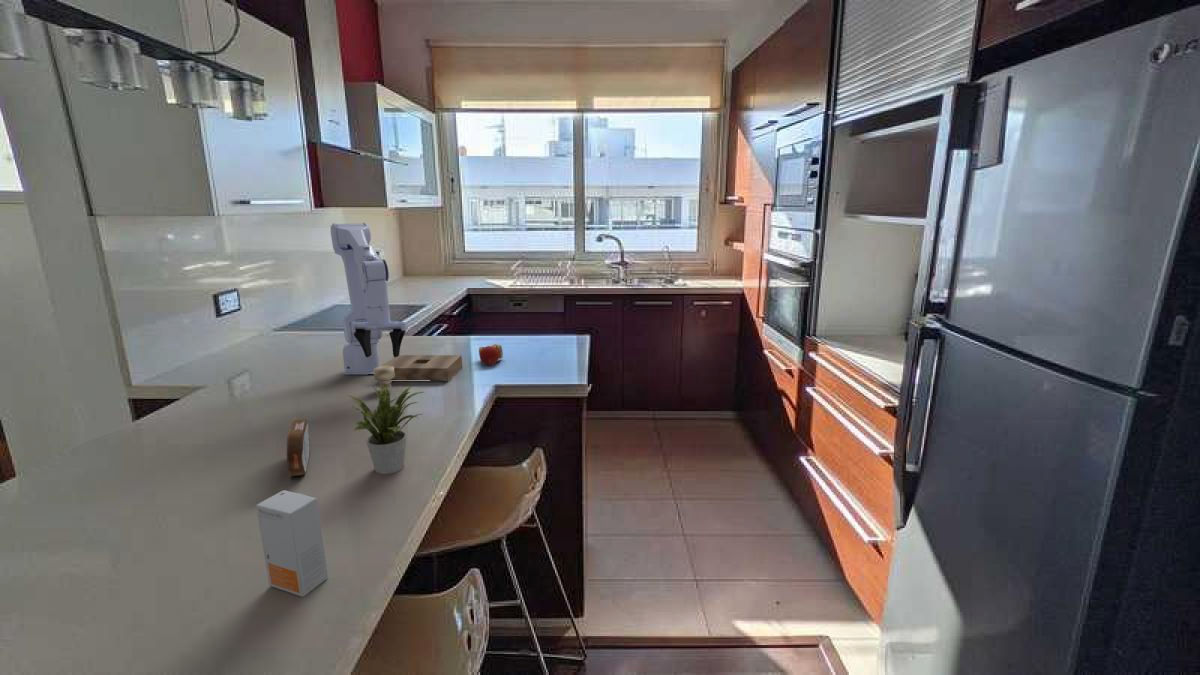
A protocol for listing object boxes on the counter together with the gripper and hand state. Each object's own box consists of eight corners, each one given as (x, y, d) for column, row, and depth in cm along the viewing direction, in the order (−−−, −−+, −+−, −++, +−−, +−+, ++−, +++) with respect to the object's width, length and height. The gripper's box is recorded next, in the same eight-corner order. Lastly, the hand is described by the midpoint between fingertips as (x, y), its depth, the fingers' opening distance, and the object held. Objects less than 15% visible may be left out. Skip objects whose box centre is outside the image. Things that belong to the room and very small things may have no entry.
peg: (372, 392, 146) (370, 371, 145) (380, 386, 151) (378, 365, 150) (391, 392, 146) (389, 371, 144) (399, 386, 151) (397, 365, 150)
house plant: (448, 468, 103) (441, 386, 99) (375, 495, 93) (365, 405, 90) (412, 446, 113) (405, 370, 109) (343, 468, 103) (332, 386, 99)
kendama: (482, 356, 186) (473, 364, 168) (484, 338, 186) (476, 344, 168) (504, 360, 187) (498, 368, 169) (507, 342, 186) (502, 348, 169)
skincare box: (268, 587, 71) (253, 504, 68) (296, 567, 75) (284, 488, 72) (302, 599, 69) (289, 513, 66) (330, 578, 73) (318, 496, 70)
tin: (297, 452, 111) (291, 413, 109) (314, 449, 112) (308, 410, 110) (288, 485, 97) (281, 441, 95) (308, 482, 98) (301, 438, 97)
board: (379, 381, 155) (377, 368, 155) (398, 367, 169) (397, 355, 168) (448, 381, 155) (447, 368, 154) (462, 367, 168) (461, 355, 167)
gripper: (342, 309, 140) (348, 360, 143) (398, 309, 139) (403, 360, 142) (355, 304, 146) (361, 353, 150) (408, 304, 146) (413, 353, 149)
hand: (382, 356), depth 146 cm, fingers open, 7 cm apart
